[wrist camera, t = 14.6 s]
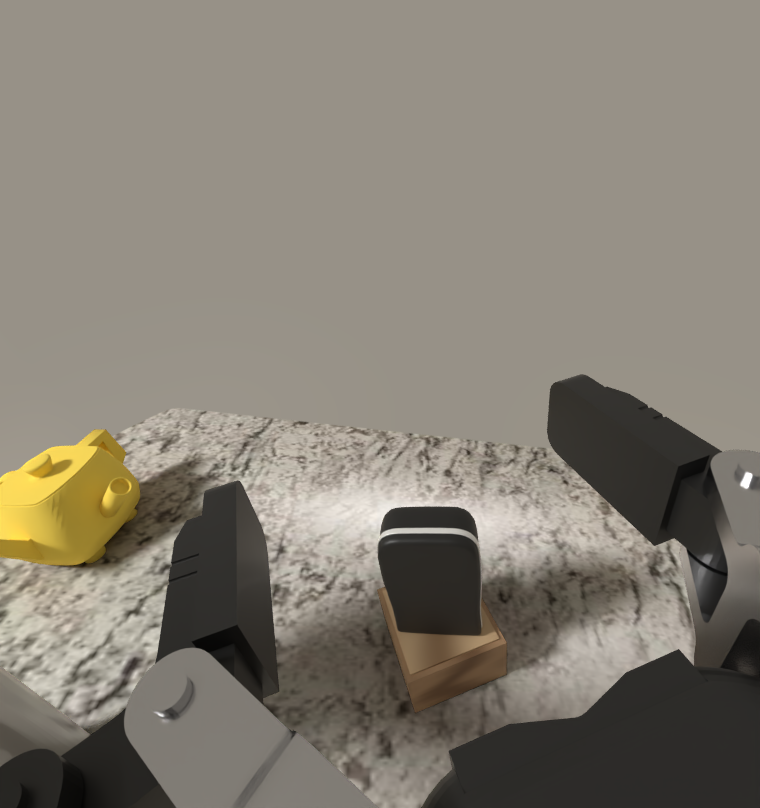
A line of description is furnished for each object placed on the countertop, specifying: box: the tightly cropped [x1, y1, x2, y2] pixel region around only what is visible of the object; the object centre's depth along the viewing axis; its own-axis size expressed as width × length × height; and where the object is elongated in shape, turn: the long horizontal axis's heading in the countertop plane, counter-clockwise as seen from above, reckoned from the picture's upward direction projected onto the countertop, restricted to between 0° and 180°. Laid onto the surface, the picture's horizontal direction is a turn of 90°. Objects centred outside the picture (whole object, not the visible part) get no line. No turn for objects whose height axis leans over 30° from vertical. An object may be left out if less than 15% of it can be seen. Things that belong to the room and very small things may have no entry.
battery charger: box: [377, 507, 482, 636], centre depth 32 cm, size 7×4×11 cm, turn 83°
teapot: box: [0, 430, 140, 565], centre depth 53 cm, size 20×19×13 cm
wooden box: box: [377, 587, 507, 713], centre depth 36 cm, size 8×8×5 cm
